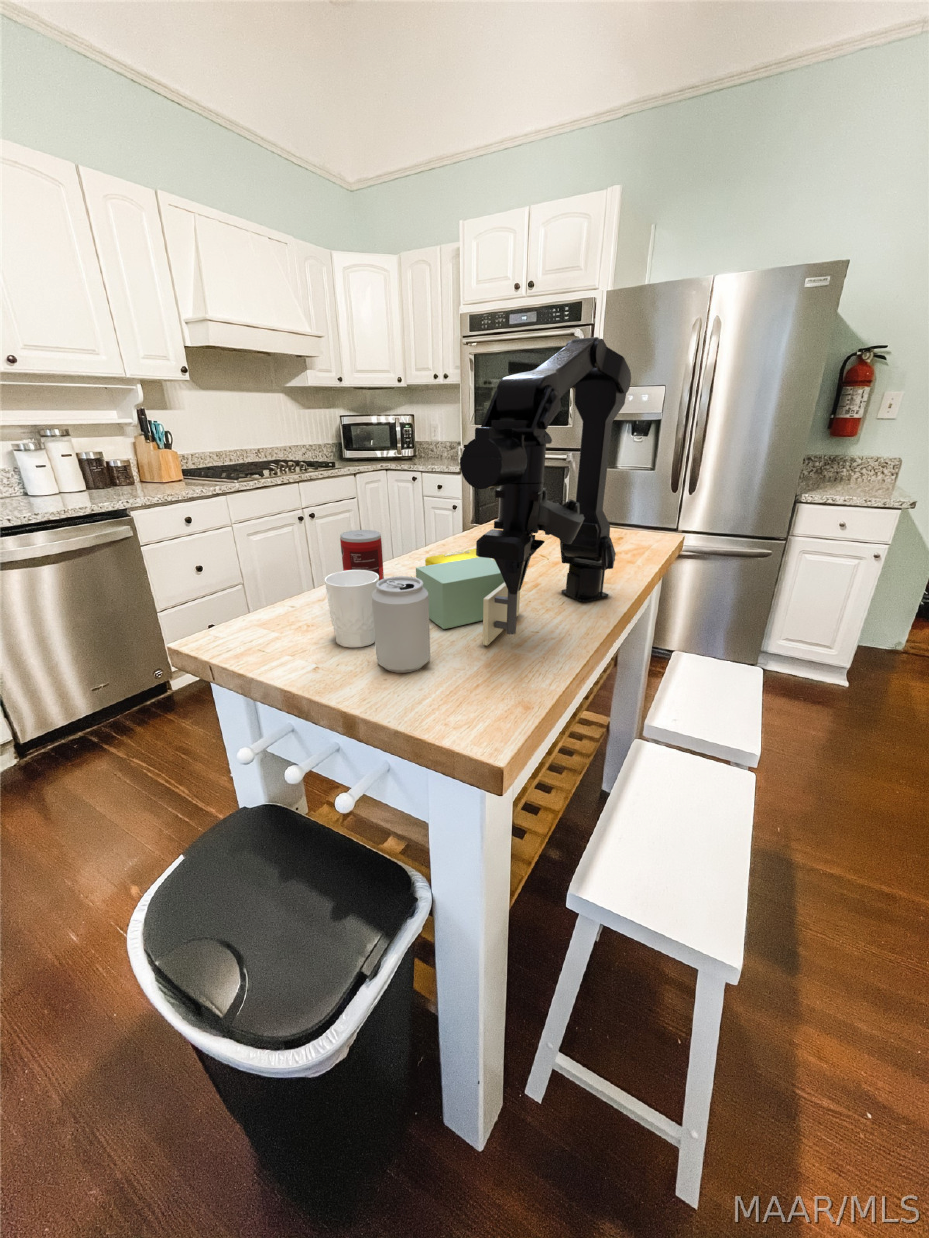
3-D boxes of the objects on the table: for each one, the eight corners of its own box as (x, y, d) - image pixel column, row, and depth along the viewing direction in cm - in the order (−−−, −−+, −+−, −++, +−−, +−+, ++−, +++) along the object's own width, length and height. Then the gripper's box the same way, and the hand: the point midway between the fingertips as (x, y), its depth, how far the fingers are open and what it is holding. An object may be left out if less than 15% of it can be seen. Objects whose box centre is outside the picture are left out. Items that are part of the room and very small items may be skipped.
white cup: (392, 632, 80) (388, 572, 76) (367, 653, 73) (362, 588, 69) (349, 625, 82) (343, 567, 78) (321, 645, 75) (313, 582, 72)
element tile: (479, 565, 114) (479, 545, 112) (521, 583, 102) (522, 560, 100) (422, 577, 106) (421, 555, 104) (460, 597, 95) (460, 573, 93)
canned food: (365, 580, 104) (360, 527, 100) (393, 587, 100) (389, 533, 96) (336, 590, 99) (330, 535, 94) (364, 598, 94) (360, 541, 90)
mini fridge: (484, 596, 95) (484, 556, 92) (514, 614, 87) (516, 570, 84) (417, 610, 89) (415, 567, 85) (443, 630, 81) (442, 583, 77)
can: (422, 678, 66) (418, 593, 62) (368, 672, 68) (361, 589, 63) (436, 653, 73) (434, 575, 68) (387, 648, 74) (382, 571, 70)
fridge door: (514, 613, 86) (517, 547, 82) (538, 617, 85) (542, 550, 80) (482, 644, 75) (483, 570, 70) (509, 650, 73) (512, 573, 69)
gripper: (570, 495, 55) (558, 624, 61) (592, 477, 72) (581, 580, 78) (476, 488, 59) (473, 611, 65) (517, 472, 75) (511, 572, 81)
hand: (514, 592), depth 72 cm, fingers closed on fridge door
